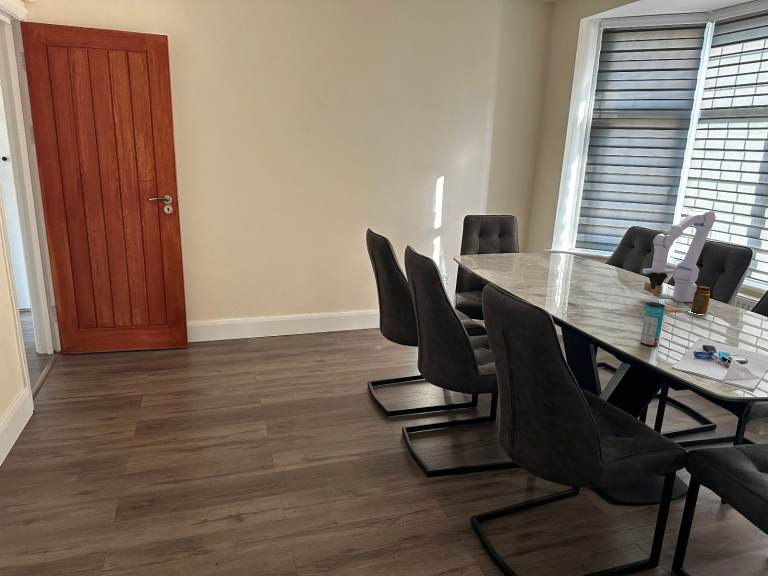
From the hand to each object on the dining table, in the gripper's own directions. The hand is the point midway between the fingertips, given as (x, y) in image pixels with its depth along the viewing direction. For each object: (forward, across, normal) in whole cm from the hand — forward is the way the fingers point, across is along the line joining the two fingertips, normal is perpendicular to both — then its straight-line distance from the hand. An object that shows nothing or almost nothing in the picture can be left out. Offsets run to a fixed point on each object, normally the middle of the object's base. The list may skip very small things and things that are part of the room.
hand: (655, 288), depth 249 cm
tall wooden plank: (+2, 0, +2) cm, 3 cm away
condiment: (+7, -10, +17) cm, 21 cm away
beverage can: (+7, +40, +57) cm, 70 cm away
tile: (+7, 0, +8) cm, 10 cm away
